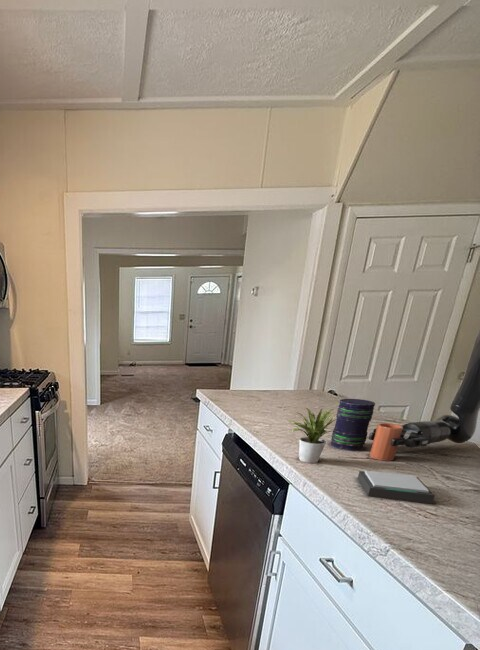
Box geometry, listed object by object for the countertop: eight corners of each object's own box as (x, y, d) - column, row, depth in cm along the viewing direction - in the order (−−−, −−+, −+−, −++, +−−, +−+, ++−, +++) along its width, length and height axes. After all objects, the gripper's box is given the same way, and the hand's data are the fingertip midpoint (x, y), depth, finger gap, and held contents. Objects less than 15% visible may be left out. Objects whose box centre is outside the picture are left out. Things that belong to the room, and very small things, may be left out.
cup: (390, 455, 125) (399, 424, 121) (396, 461, 120) (405, 429, 116) (367, 453, 127) (375, 422, 123) (372, 459, 122) (380, 427, 118)
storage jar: (351, 441, 139) (361, 398, 133) (371, 450, 130) (383, 404, 124) (323, 442, 138) (332, 399, 132) (341, 451, 129) (352, 405, 123)
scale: (415, 484, 104) (418, 474, 102) (432, 504, 93) (436, 493, 92) (357, 478, 108) (359, 468, 107) (367, 496, 97) (370, 485, 96)
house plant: (298, 448, 132) (308, 399, 126) (342, 459, 122) (355, 406, 115) (274, 457, 124) (284, 405, 118) (320, 470, 114) (333, 413, 107)
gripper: (399, 417, 130) (362, 421, 125) (448, 427, 118) (409, 433, 113) (393, 439, 133) (356, 444, 128) (440, 452, 121) (401, 458, 115)
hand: (381, 439), depth 120 cm, fingers closed on cup, 6 cm apart
